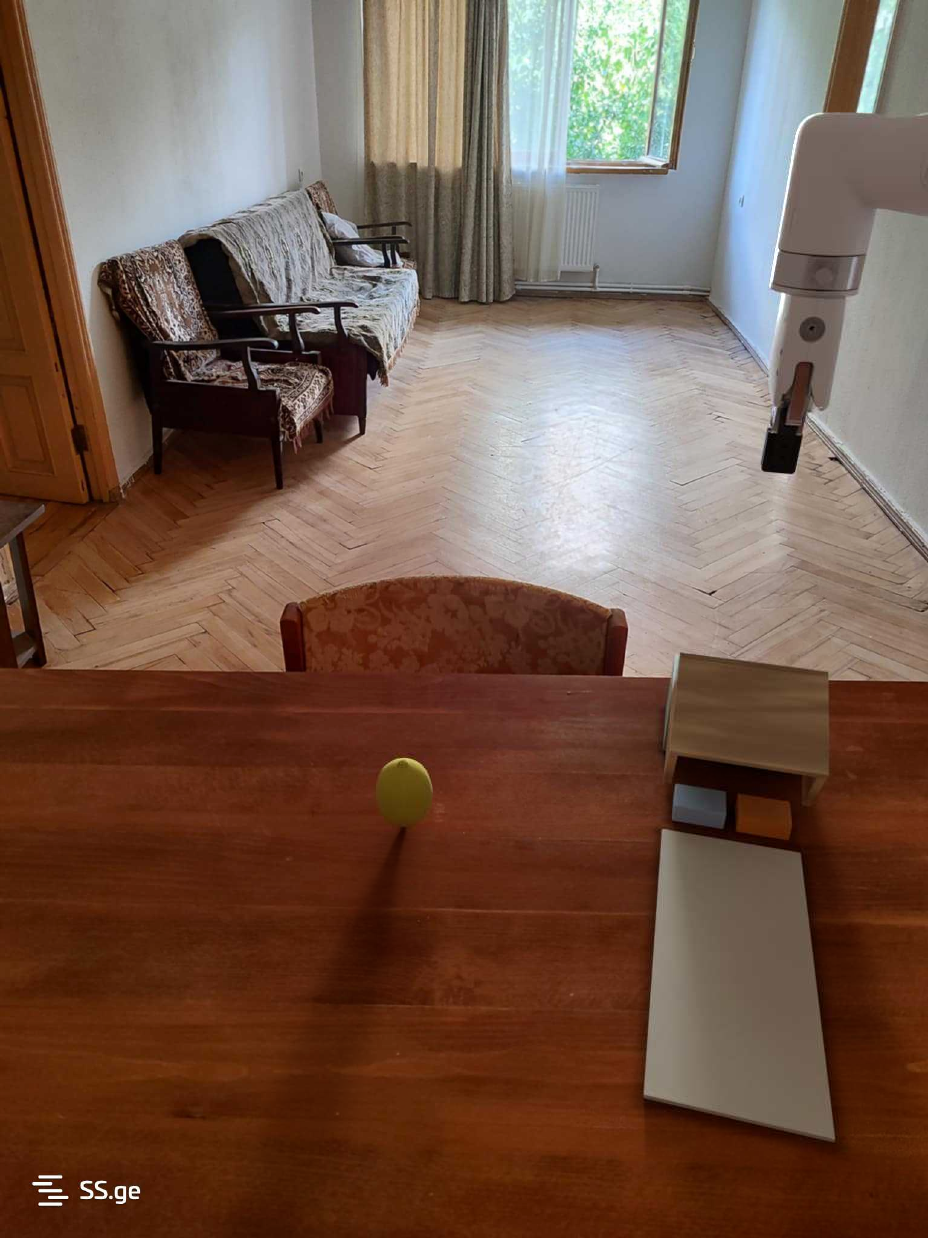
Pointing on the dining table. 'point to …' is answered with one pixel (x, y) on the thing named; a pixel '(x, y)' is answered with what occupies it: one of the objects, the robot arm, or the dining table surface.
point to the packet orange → (763, 816)
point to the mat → (736, 988)
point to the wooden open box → (751, 717)
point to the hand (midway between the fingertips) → (777, 469)
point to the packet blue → (699, 806)
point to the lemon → (403, 792)
